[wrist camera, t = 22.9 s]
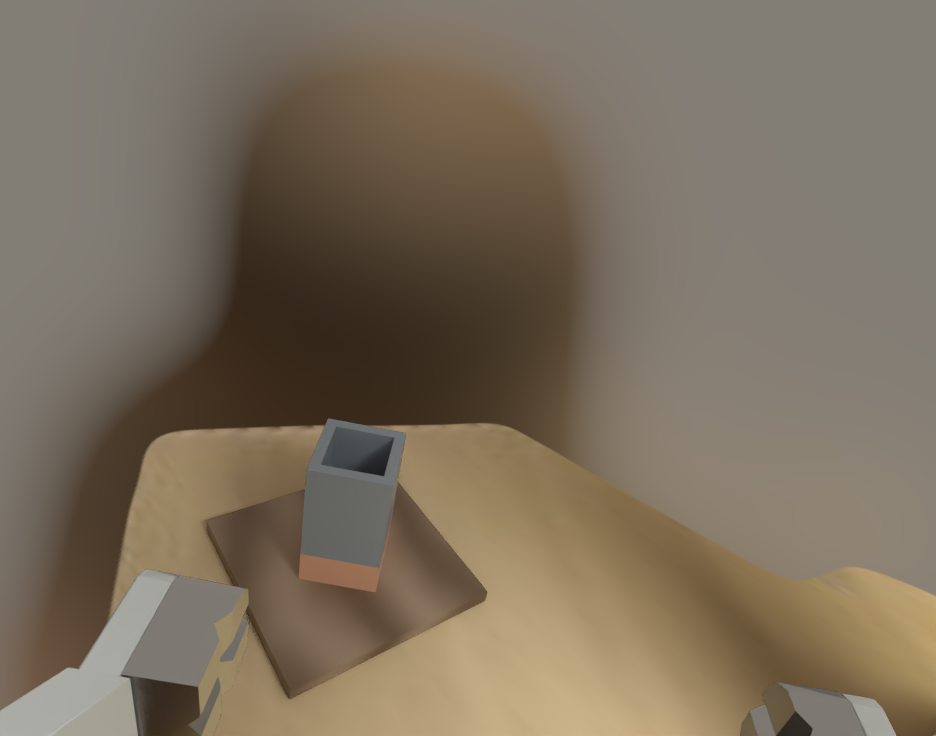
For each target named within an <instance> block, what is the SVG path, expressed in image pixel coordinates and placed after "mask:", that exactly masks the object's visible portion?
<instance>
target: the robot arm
mask: <svg viewBox="0 0 936 736" xmlns="http://www.w3.org/2000/svg"><path fill="white" fill-rule="evenodd" d="M248 604H249V597H248V589H247V588H242V587H237V586H232V585H227V584H222V583H217V582H212V581H206V580H201V579H196V578H191V577H186V576H181V575H177V574H172V573H166V572H161V571H155V570H150V569H145V570H144V571H143V572H142V573H141V574H140V575H139V576H138V577H136V579H135V580H134V582H133V583H132V585H131V586H130V588H129V590H128V591H127V593H126V594H125V596H124V597H123V599H122V601H121V602H120V604H119V605H118V607H117V609H116V610H115V612H114V613H113V615H112V616H111V618H110V620H109V621H108V623H107V624H106V626H105V628H104V629H103V631H102V632H101V634H100V635H99V637H98V638H97V640H96V642H95V643H94V645H93V646H92V648H91V650H90V651H89V653H88V654H87V656H86V658H85V659H84V661H83V662H82V664H81V665H80V667H79V668H70V667H67V668H66V669H64V670H62V671H61V672H59V673H58V674H57V675H55V676H53V677H51V678H50V679H48V680H47V681H45V682H44V683H42V684H41V685H39V686H38V687H36V688H34V689H33V690H31V691H30V692H28V693H27V694H25V695H23V696H22V697H20V698H19V699H17V700H16V701H14V702H12V703H11V704H9V705H8V706H6V707H5V708H3V709H2V710H0V736H213V734H214V732H215V729H216V727H217V724H218V722H219V719H220V717H221V695H222V694H223V693H225V692H226V691H227V690H228V689H230V688H231V687H232V686H233V684H234V682H235V679H236V676H237V674H238V671H239V669H240V666H241V662H242V659H243V655H244V652H245V648H246V643H247V636H248V621H247V620H246V619H245V618H244V617H243V616H244V613H245V611H246V608H247V606H248ZM762 696H763V699H764V702H765V704H764V705H762V706H760V707H757V708H755V709H753V710H750V711H749V713H748V715H747V716H746V718H745V719H744V721H743V722H742V726H741V733H740V736H896V734H895V732H894V730H893V728H892V726H891V724H890V722H889V720H888V718H887V716H886V714H885V712H884V710H883V708H882V707H881V706H880V705H879V704H878V703H877V702H876V701H875V700H874V699H870V698H867V697H861V696H854V695H848V694H841V693H838V692H836V691H831V690H824V689H818V688H812V687H806V686H800V685H793V684H787V683H781V682H776V683H773V684H770V685H769V686H768V687H767V688H766V690H765V691H764V692H763V694H762ZM933 736H936V734H935V735H933Z"/></svg>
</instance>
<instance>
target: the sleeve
mask: <svg viewBox="0 0 936 736" xmlns="http://www.w3.org/2000/svg"><path fill="white" fill-rule="evenodd" d="M405 437H406V433H403V432H398V431H392V430H387V429H382V428H376V427H371V426H366V425H361V424H355V423H350V422H345V421H339V420H334V419H328V420H327V423H326V425H325V427H324V430H323V432H322V434H321V437H320V439H319V441H318V444H317V446H316V449H315V451H314V453H313V456H312V458H311V460H310V463H309V465H308V467H307V470H306V483H305V497H304V511H303V524H302V538H301V552H300V566H299V579H303V580H309V581H314V582H320V583H325V584H331V585H337V586H342V587H348V588H353V589H359V590H365V591H370V592H376V589H377V584H378V580H379V576H380V571H381V567H382V562H383V558H384V554H385V549H386V545H387V541H388V536H389V531H390V525H391V519H392V513H393V507H394V502H395V496H396V490H397V484H398V478H399V472H400V466H401V461H402V455H403V449H404V443H405Z"/></svg>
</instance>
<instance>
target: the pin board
mask: <svg viewBox="0 0 936 736" xmlns="http://www.w3.org/2000/svg"><path fill="white" fill-rule="evenodd" d="M304 497H305V490H302V491H299V492H295V493H292V494H289V495H286V496H283V497H280V498H276V499H273V500H270V501H267V502H264V503H260V504H257V505H254V506H251V507H248V508H244V509H241V510H238V511H235V512H232V513H229V514H225V515H222V516H219V517H216V518H213V519H209V520H207V531H208V533H209V535H210V537H211V539H212V541H213V543H214V545H215V547H216V550H217V552H218V554H219V556H220V558H221V560H222V562H223V564H224V566H225V568H226V570H227V572H228V574H229V576H230V578H231V580H232V582H233V584H234V586H237V587H242V588H247V589H248V597H249V604H248V606H247V608H246V611H247V613H248V615H249V617H250V619H251V621H252V623H253V625H254V628H255V630H256V632H257V634H258V636H259V638H260V640H261V642H262V644H263V646H264V648H265V650H266V652H267V654H268V656H269V658H270V660H271V662H272V664H273V667H274V669H275V671H276V673H277V675H278V677H279V679H280V681H281V683H282V685H283V687H284V689H285V691H286V693H287V695H288V697H289V699H291V698H293V697H295V696H297V695H299V694H301V693H303V692H305V691H307V690H309V689H311V688H313V687H315V686H317V685H319V684H321V683H322V682H324V681H326V680H328V679H330V678H332V677H334V676H336V675H338V674H340V673H342V672H344V671H346V670H348V669H350V668H352V667H354V666H356V665H358V664H360V663H362V662H364V661H366V660H368V659H370V658H372V657H374V656H376V655H378V654H380V653H382V652H384V651H386V650H388V649H390V648H392V647H394V646H396V645H398V644H400V643H402V642H404V641H406V640H408V639H410V638H412V637H414V636H416V635H418V634H420V633H422V632H424V631H426V630H428V629H430V628H432V627H434V626H436V625H438V624H440V623H442V622H443V621H445V620H447V619H449V618H451V617H453V616H455V615H457V614H459V613H461V612H463V611H465V610H467V609H469V608H471V607H473V606H475V605H477V604H479V603H481V602H483V601H485V598H486V595H487V591H486V589H485V588H484V587H483V586H482V584H481V583H480V582H479V581H478V579H477V578H476V577H475V576H474V575H473V573H472V572H471V571H470V570H469V568H468V567H467V566H466V565H465V564H464V562H463V561H462V560H461V559H460V557H459V556H458V555H457V554H456V552H455V551H454V550H453V549H452V548H451V546H450V545H449V544H448V543H447V541H446V540H445V539H444V538H443V537H442V535H441V534H440V533H439V532H438V530H437V529H436V528H435V527H434V525H433V524H432V523H431V522H430V521H429V519H428V518H427V517H426V516H425V514H424V513H423V512H422V511H421V510H420V508H419V507H418V506H417V505H416V503H415V502H414V501H413V500H412V498H411V497H410V496H409V495H408V494H407V492H406V491H405V490H404V489H403V487H402V486H401V485H400V484H399V483H398V484H397V490H396V496H395V502H394V507H393V513H392V519H391V525H390V531H389V536H388V541H387V545H386V549H385V554H384V558H383V562H382V567H381V571H380V576H379V580H378V584H377V589H376V592H370V591H365V590H359V589H353V588H348V587H342V586H337V585H331V584H325V583H320V582H314V581H309V580H303V579H299V566H300V552H301V538H302V524H303V511H304Z"/></svg>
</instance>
